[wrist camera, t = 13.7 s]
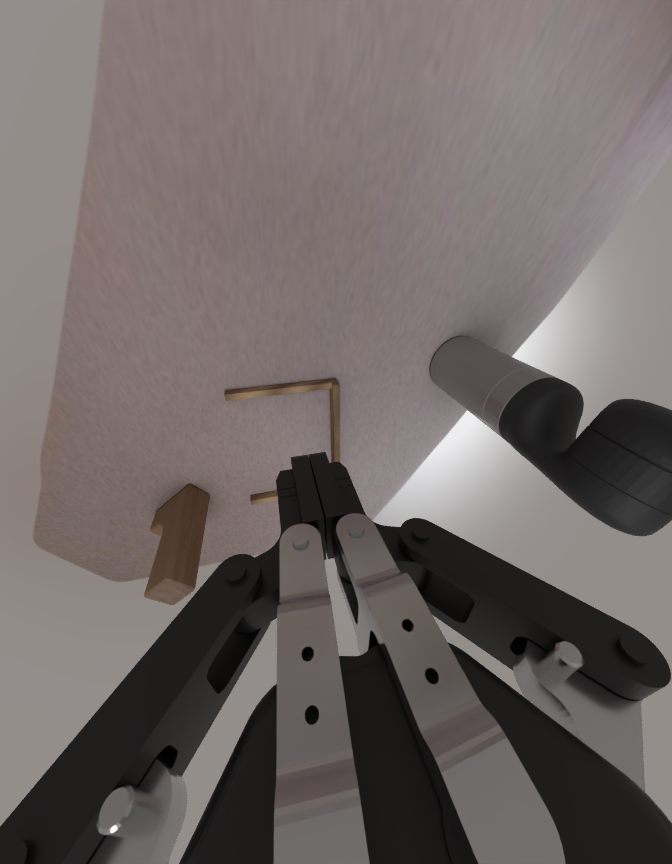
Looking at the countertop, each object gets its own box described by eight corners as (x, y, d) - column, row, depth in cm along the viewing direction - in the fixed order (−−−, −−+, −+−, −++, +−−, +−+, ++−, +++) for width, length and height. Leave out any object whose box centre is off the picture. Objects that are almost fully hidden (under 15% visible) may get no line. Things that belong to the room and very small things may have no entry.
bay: (335, 378, 47) (339, 384, 45) (337, 483, 60) (340, 492, 58) (225, 390, 44) (223, 397, 42) (251, 498, 57) (251, 508, 55)
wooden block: (177, 521, 56) (151, 623, 41) (155, 511, 53) (119, 615, 38) (210, 494, 54) (195, 590, 39) (189, 482, 51) (165, 579, 37)
